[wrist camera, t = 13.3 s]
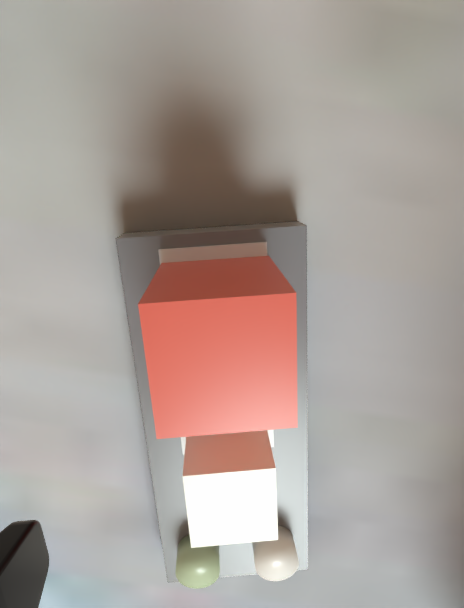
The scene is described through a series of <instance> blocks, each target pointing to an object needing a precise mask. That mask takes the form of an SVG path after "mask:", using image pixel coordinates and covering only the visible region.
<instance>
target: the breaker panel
mask: <svg viewBox="0 0 464 608" xmlns="http://www.w3.org/2000/svg"><path fill="white" fill-rule="evenodd" d="M116 244H117V251H118V257H119V264H120V271H121V277H122V284H123V291H124V297H125V304H126V310H127V317H128V324H129V330H130V337H131V343H132V350H133V357H134V363H135V370H136V376H137V383H138V390H139V396H140V403H141V409H142V416H143V423H144V429H145V436H146V443H147V449H148V456H149V462H150V469H151V476H152V482H153V489H154V495H155V502H156V509H157V515H158V522H159V528H160V535H161V542H162V548H163V555H164V562H165V568H166V575H167V581H168V583H169V582H180V583H181V584H183V585H184V586H186V587H189V588H196V589H198V588H205V587H208V586H210V585H211V584H213V583H214V582H215V581H216V580H217V579H218V578H222V577H232V576H243V575H253V574H258V575H259V576H260V577H262V578H264V579H266V580H269V581H280V580H284V579H287V578H289V577H290V576H292V575H293V574H294V573H295V572H296V570H306V569H308V450H307V227H306V225H305V224H303V223H301V222H299V221H293V222H278V223H264V224H249V225H235V226H220V227H206V228H191V229H177V230H162V231H148V232H133V233H124V234H122V235H121V236H119V237H117V238H116ZM257 256H270V258H271V259H272V260H273V262H274V263H275V265H276V266H277V267H278V269H279V270H280V271H281V273H282V274H283V275H284V277H285V278H286V279H287V281H288V282H289V283H290V285H291V286H292V287H293V289H294V290H295V291H296V300H297V403H298V428H287V429H275V430H267V431H268V436H269V440H270V445H271V449H272V453H273V458H274V462H275V467H276V489H277V518H278V540H271V541H260V542H250V543H239V544H228V545H217V546H206V547H196V548H191V542H190V534H189V526H188V518H187V509H186V501H185V493H184V485H183V477H182V476H183V465H184V455H185V444H186V437H177V438H165V439H157V438H156V431H155V424H154V416H153V409H152V402H151V395H150V387H149V380H148V373H147V366H146V358H145V351H144V344H143V337H142V329H141V322H140V315H139V308H138V303H139V301H140V300H141V298H142V296H143V294H144V293H145V291H146V289H147V287H148V286H149V284H150V282H151V280H152V279H153V277H154V275H155V273H156V272H157V270H158V268H159V266H160V265H161V263H169V262H184V261H199V260H213V259H228V258H243V257H257Z"/></svg>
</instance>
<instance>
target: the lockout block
mask: <svg viewBox="0 0 464 608" xmlns="http://www.w3.org/2000/svg"><path fill="white" fill-rule="evenodd" d="M138 308H139V315H140V322H141V329H142V337H143V344H144V351H145V358H146V366H147V373H148V380H149V387H150V395H151V402H152V409H153V416H154V424H155V431H156V438H157V439H165V438H177V437H189V436H202V435H214V434H226V433H238V432H251V431H263V430H275V429H287V428H298V403H297V300H296V291H295V290H294V289H293V287H292V286H291V285H290V283H289V282H288V281H287V279H286V278H285V277H284V275H283V274H282V273H281V271H280V270H279V269H278V267H277V266H276V265H275V263H274V262H273V260H272V259H271V258H270V256H257V257H243V258H228V259H213V260H199V261H184V262H169V263H161V265H160V266H159V268H158V270H157V272H156V273H155V275H154V277H153V279H152V280H151V282H150V284H149V286H148V287H147V289H146V291H145V293H144V294H143V296H142V298H141V300H140V301H139V303H138Z"/></svg>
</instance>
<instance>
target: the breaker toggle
mask: <svg viewBox="0 0 464 608" xmlns="http://www.w3.org/2000/svg"><path fill="white" fill-rule="evenodd" d="M182 477H183V485H184V493H185V501H186V509H187V518H188V526H189V534H190V542H191V548H196V547H206V546H217V545H228V544H239V543H250V542H260V541H271V540H278V518H277V489H276V467H275V462H274V458H273V453H272V449H271V445H270V440H269V436H268V431H267V430H263V431H251V432H238V433H226V434H214V435H202V436H189V437H186V444H185V455H184V465H183V476H182Z"/></svg>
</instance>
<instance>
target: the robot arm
mask: <svg viewBox="0 0 464 608" xmlns="http://www.w3.org/2000/svg"><path fill="white" fill-rule="evenodd" d="M48 567H49V554H48V550H47V546H46V543H45V539H44V535H43V531H42V528H41V525H40V523H39V522H38V521H36V520H27V521H17V522H13V523H11V524H10V525H9V526H7V527H6V528H5V529H4V530H3V531H1V532H0V608H38V606H39V602H40V599H41V595H42V591H43V587H44V584H45V580H46V576H47V572H48Z"/></svg>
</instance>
